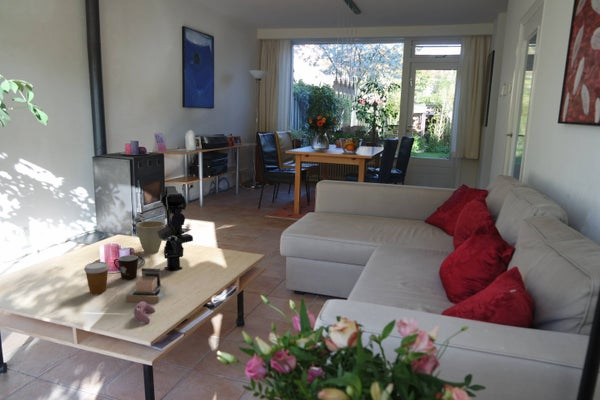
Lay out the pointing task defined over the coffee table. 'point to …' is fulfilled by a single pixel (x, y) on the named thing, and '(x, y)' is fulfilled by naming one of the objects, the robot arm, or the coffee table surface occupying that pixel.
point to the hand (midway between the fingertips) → (176, 253)
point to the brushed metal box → (148, 282)
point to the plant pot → (150, 235)
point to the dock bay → (145, 297)
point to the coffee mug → (128, 266)
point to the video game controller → (143, 311)
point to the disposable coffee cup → (97, 277)
